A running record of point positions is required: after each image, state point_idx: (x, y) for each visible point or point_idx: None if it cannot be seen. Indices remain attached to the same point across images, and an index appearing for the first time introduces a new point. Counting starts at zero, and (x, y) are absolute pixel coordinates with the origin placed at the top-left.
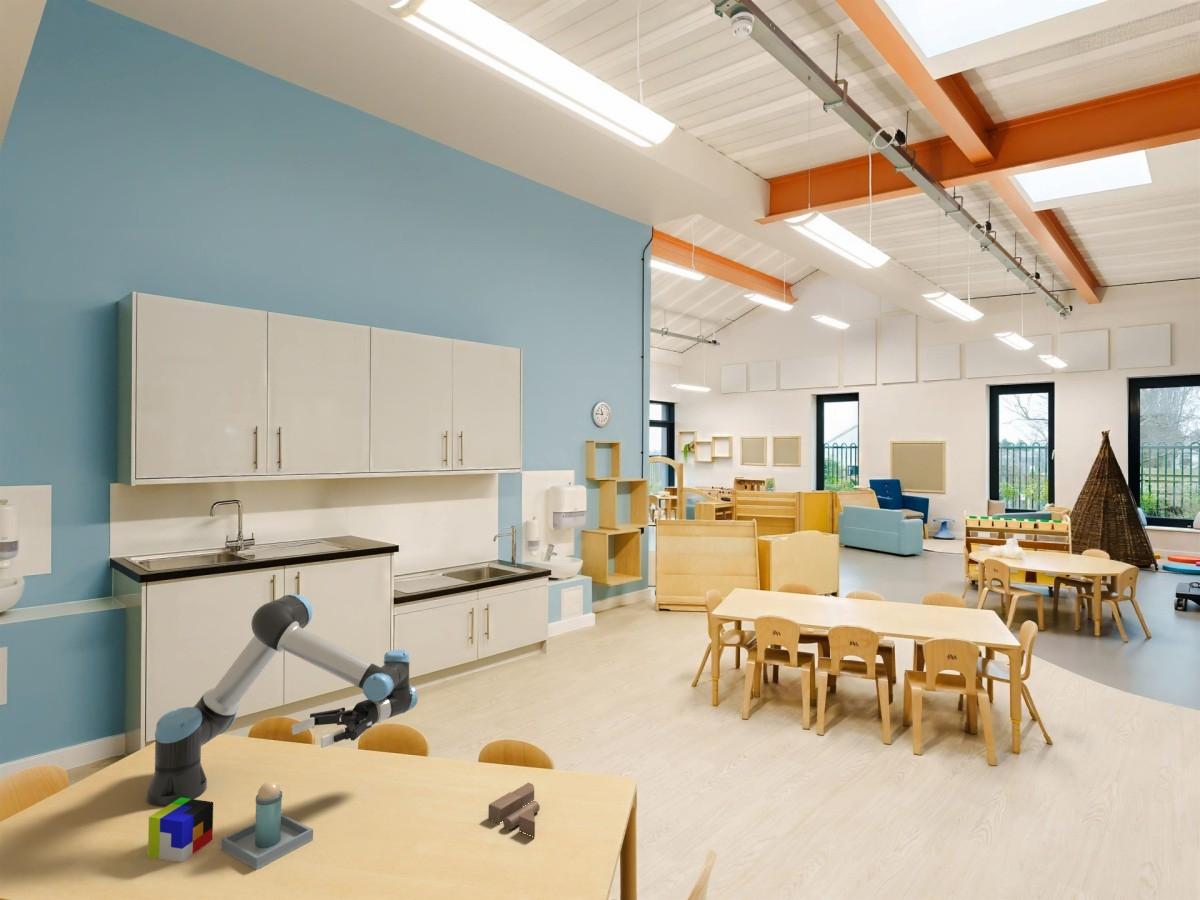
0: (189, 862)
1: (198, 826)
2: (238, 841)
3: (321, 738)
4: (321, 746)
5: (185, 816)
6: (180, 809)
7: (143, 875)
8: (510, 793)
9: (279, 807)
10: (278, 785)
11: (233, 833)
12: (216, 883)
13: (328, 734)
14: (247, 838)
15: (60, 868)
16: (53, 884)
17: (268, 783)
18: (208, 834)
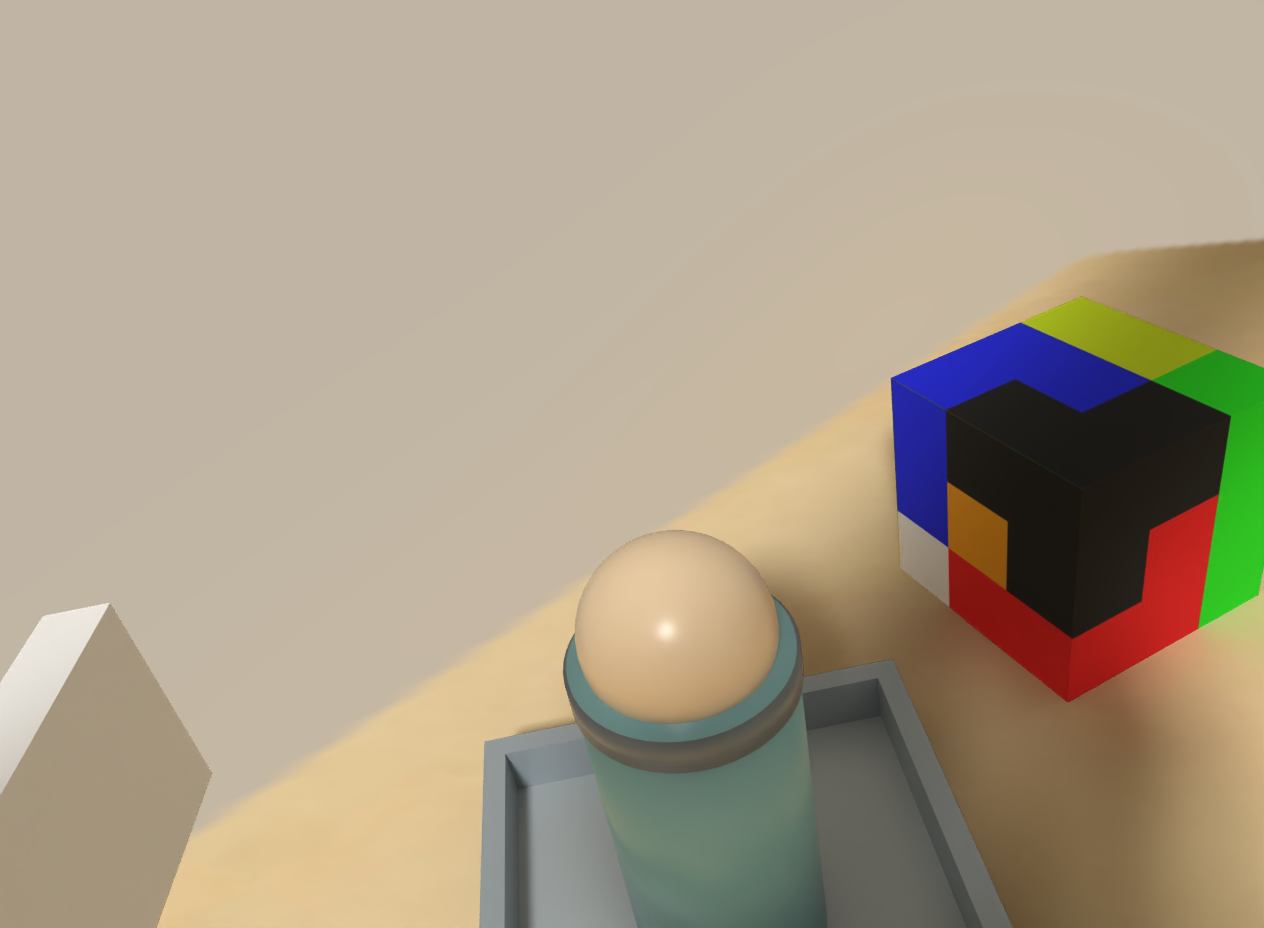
0: (869, 588)
1: (977, 512)
2: (884, 778)
3: (108, 626)
4: (186, 763)
5: (956, 386)
6: (1084, 375)
7: (891, 467)
8: None
9: (602, 784)
10: (628, 649)
11: (910, 718)
12: (567, 636)
13: (16, 763)
14: (887, 831)
15: (1166, 313)
16: (1042, 310)
17: (648, 546)
18: (1041, 638)
